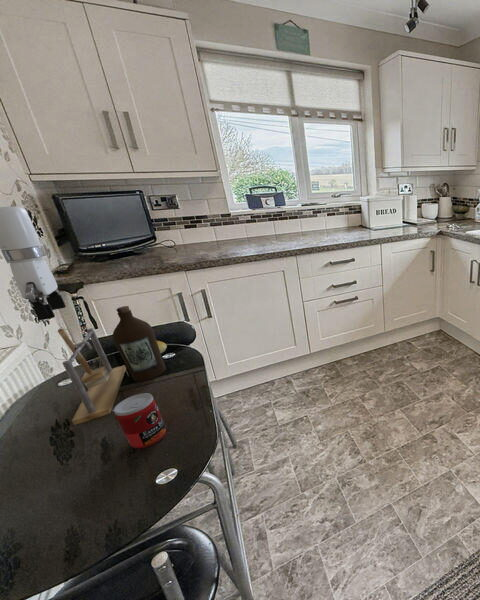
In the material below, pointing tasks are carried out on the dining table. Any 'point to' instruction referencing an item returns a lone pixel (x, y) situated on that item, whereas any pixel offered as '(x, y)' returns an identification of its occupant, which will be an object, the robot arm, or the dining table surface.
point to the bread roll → (161, 346)
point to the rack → (99, 396)
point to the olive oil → (138, 346)
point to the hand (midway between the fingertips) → (53, 313)
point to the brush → (86, 364)
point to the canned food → (140, 420)
